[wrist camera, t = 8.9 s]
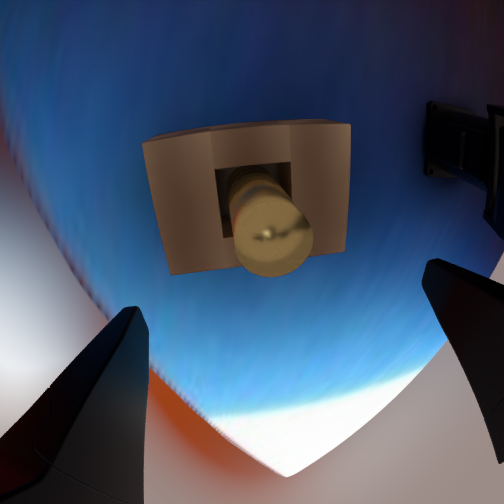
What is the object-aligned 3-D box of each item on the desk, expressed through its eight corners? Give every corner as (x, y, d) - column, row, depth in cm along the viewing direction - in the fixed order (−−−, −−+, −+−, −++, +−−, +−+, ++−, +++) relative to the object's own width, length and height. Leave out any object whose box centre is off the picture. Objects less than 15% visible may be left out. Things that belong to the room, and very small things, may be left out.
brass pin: (271, 161, 17) (313, 201, 10) (274, 205, 18) (312, 271, 11) (223, 166, 17) (230, 211, 10) (229, 211, 18) (239, 281, 11)
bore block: (323, 119, 17) (350, 124, 13) (323, 225, 21) (344, 251, 17) (156, 135, 16) (141, 143, 13) (177, 244, 20) (170, 275, 17)
